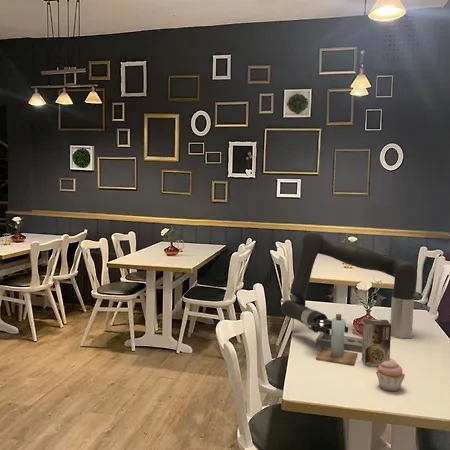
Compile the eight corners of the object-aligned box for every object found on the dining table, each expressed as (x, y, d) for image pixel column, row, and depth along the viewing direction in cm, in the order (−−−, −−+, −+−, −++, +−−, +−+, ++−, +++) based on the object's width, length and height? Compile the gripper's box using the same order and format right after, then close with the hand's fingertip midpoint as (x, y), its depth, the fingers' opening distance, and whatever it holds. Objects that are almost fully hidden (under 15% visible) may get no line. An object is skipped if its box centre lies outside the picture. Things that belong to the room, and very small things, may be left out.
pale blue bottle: (344, 354, 184) (346, 313, 183) (342, 358, 180) (344, 317, 178) (331, 352, 186) (333, 312, 185) (329, 356, 182) (331, 315, 180)
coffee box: (385, 361, 181) (387, 319, 179) (389, 367, 174) (392, 324, 173) (360, 359, 182) (363, 318, 180) (364, 366, 175) (366, 323, 174)
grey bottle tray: (371, 345, 198) (371, 338, 197) (368, 353, 188) (369, 345, 188) (320, 338, 205) (320, 331, 205) (315, 345, 196) (316, 338, 196)
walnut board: (357, 355, 186) (357, 353, 186) (353, 365, 175) (353, 363, 175) (321, 349, 191) (321, 347, 191) (315, 359, 180) (315, 357, 180)
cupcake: (380, 379, 164) (382, 350, 163) (408, 387, 158) (410, 357, 157) (370, 387, 157) (371, 358, 156) (398, 396, 151) (400, 366, 150)
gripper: (299, 312, 194) (323, 323, 179) (328, 309, 199) (353, 320, 185) (299, 330, 194) (322, 342, 180) (327, 326, 200) (352, 338, 185)
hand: (338, 331), depth 182 cm, fingers open, 8 cm apart
